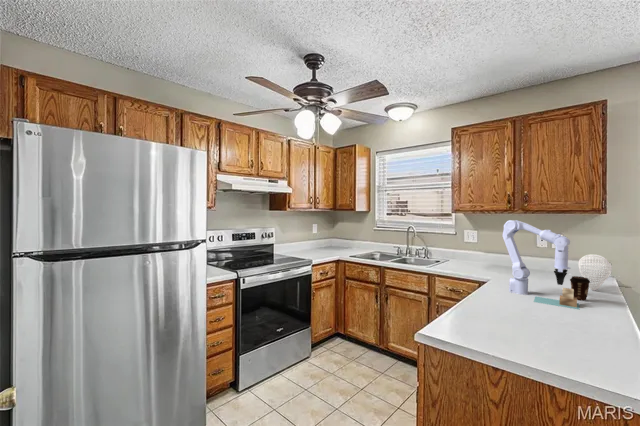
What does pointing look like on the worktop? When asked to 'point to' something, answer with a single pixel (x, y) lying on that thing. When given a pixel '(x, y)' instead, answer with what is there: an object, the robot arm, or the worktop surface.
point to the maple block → (568, 293)
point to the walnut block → (568, 301)
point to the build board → (552, 302)
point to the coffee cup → (580, 287)
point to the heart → (591, 257)
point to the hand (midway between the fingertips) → (560, 283)
